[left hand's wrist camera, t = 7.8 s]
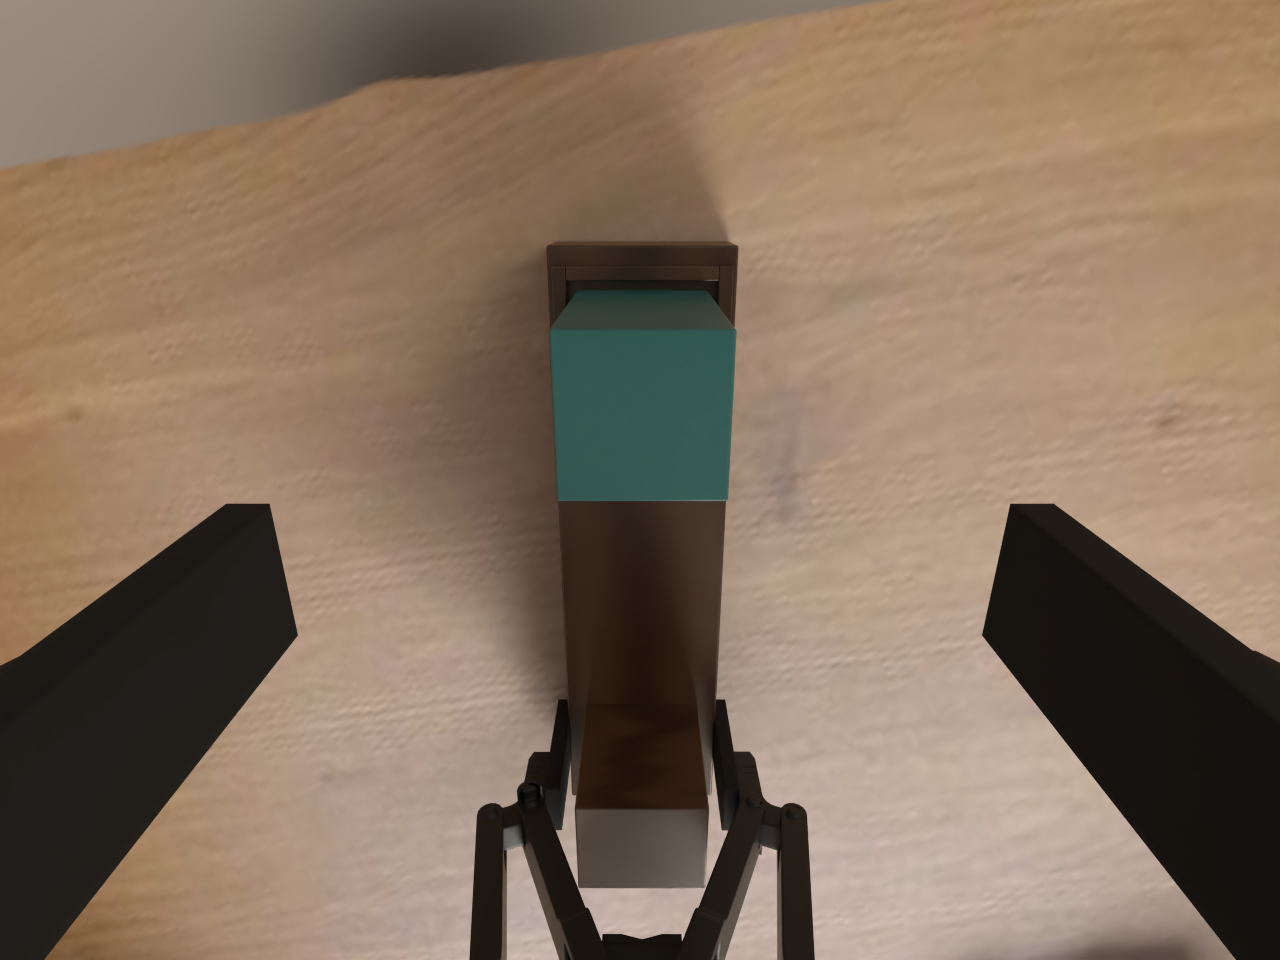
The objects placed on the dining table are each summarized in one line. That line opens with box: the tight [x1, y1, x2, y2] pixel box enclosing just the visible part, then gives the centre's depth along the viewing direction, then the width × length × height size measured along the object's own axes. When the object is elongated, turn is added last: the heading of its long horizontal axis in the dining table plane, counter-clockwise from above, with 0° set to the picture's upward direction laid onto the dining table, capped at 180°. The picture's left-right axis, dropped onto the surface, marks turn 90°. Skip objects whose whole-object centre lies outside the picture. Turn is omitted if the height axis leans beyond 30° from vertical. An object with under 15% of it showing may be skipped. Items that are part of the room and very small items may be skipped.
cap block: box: [549, 289, 736, 501], centre depth 26 cm, size 6×6×10 cm
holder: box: [546, 242, 738, 888], centre depth 33 cm, size 8×30×10 cm, turn 0°
